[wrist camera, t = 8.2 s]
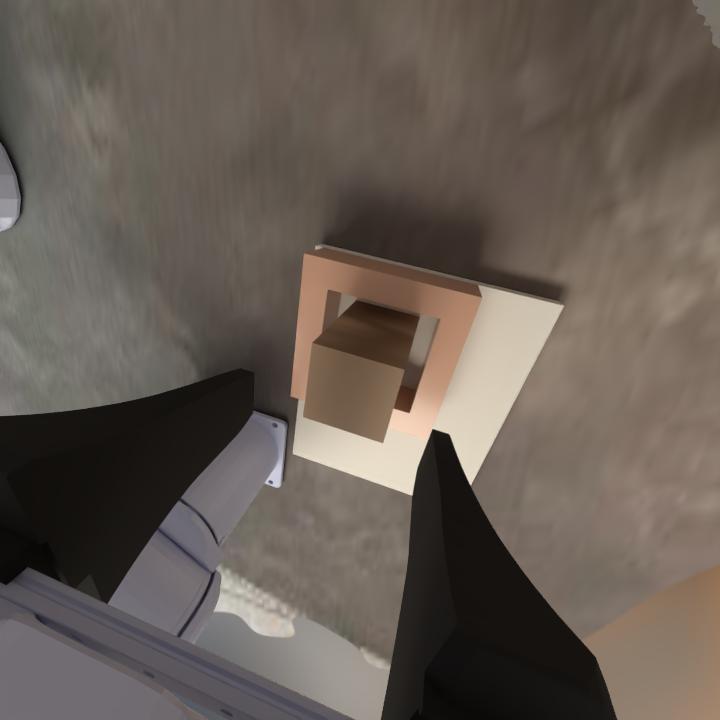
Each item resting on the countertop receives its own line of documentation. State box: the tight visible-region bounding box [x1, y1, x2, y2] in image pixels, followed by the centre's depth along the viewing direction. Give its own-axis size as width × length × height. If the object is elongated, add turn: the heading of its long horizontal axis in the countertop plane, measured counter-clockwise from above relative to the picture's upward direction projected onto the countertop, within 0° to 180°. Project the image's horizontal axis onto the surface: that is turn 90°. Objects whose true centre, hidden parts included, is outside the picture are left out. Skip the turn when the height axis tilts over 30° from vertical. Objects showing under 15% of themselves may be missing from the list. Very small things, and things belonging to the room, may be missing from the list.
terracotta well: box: [291, 247, 482, 441], centre depth 19 cm, size 9×9×3 cm
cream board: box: [293, 244, 564, 496], centre depth 22 cm, size 14×17×1 cm
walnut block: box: [303, 300, 420, 443], centre depth 17 cm, size 4×4×7 cm
